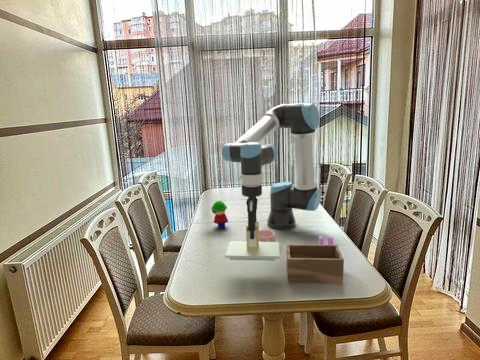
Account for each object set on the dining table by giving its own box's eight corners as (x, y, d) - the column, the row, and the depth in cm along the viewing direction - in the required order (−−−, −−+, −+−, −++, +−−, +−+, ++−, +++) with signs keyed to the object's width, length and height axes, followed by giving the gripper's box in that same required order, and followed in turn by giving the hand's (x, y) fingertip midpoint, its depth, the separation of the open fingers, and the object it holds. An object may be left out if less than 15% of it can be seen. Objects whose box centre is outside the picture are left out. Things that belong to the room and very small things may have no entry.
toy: (228, 230, 177) (227, 203, 174) (212, 231, 177) (210, 203, 174) (228, 224, 186) (227, 198, 183) (212, 225, 186) (211, 199, 183)
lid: (229, 247, 138) (228, 218, 135) (278, 247, 136) (278, 218, 133) (225, 261, 126) (224, 230, 123) (279, 262, 124) (279, 230, 121)
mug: (252, 242, 162) (252, 230, 161) (272, 240, 164) (272, 228, 162) (258, 252, 151) (257, 240, 149) (279, 250, 152) (279, 238, 151)
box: (286, 265, 138) (286, 244, 136) (336, 266, 136) (337, 244, 134) (287, 282, 125) (287, 259, 123) (342, 283, 123) (343, 259, 121)
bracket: (318, 249, 152) (318, 235, 151) (330, 249, 152) (331, 234, 150) (324, 263, 140) (324, 247, 138) (337, 262, 139) (338, 247, 138)
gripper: (243, 179, 133) (245, 234, 139) (239, 190, 116) (241, 253, 122) (262, 179, 133) (263, 234, 138) (260, 190, 116) (261, 253, 121)
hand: (252, 243), depth 130 cm, fingers closed on lid, 4 cm apart
